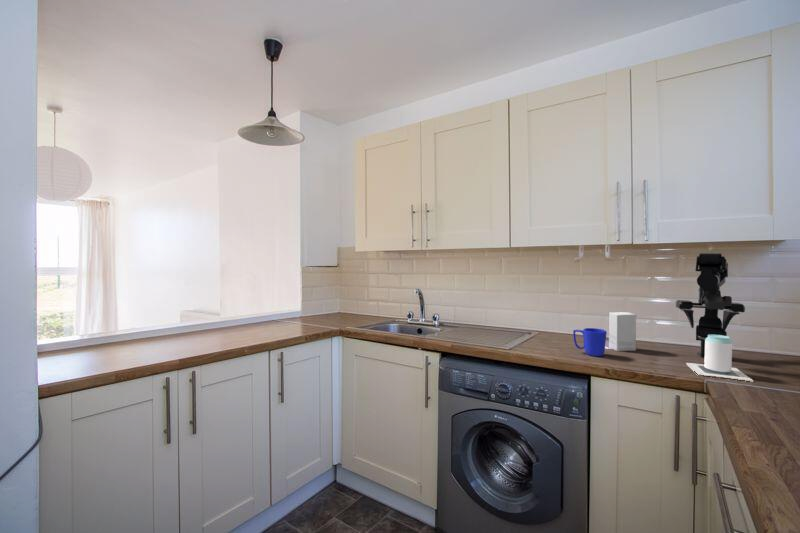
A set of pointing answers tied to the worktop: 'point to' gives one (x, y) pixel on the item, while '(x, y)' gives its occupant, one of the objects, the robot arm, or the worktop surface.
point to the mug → (592, 341)
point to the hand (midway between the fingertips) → (708, 329)
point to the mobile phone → (607, 345)
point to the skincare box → (622, 331)
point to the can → (718, 353)
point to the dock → (733, 374)
